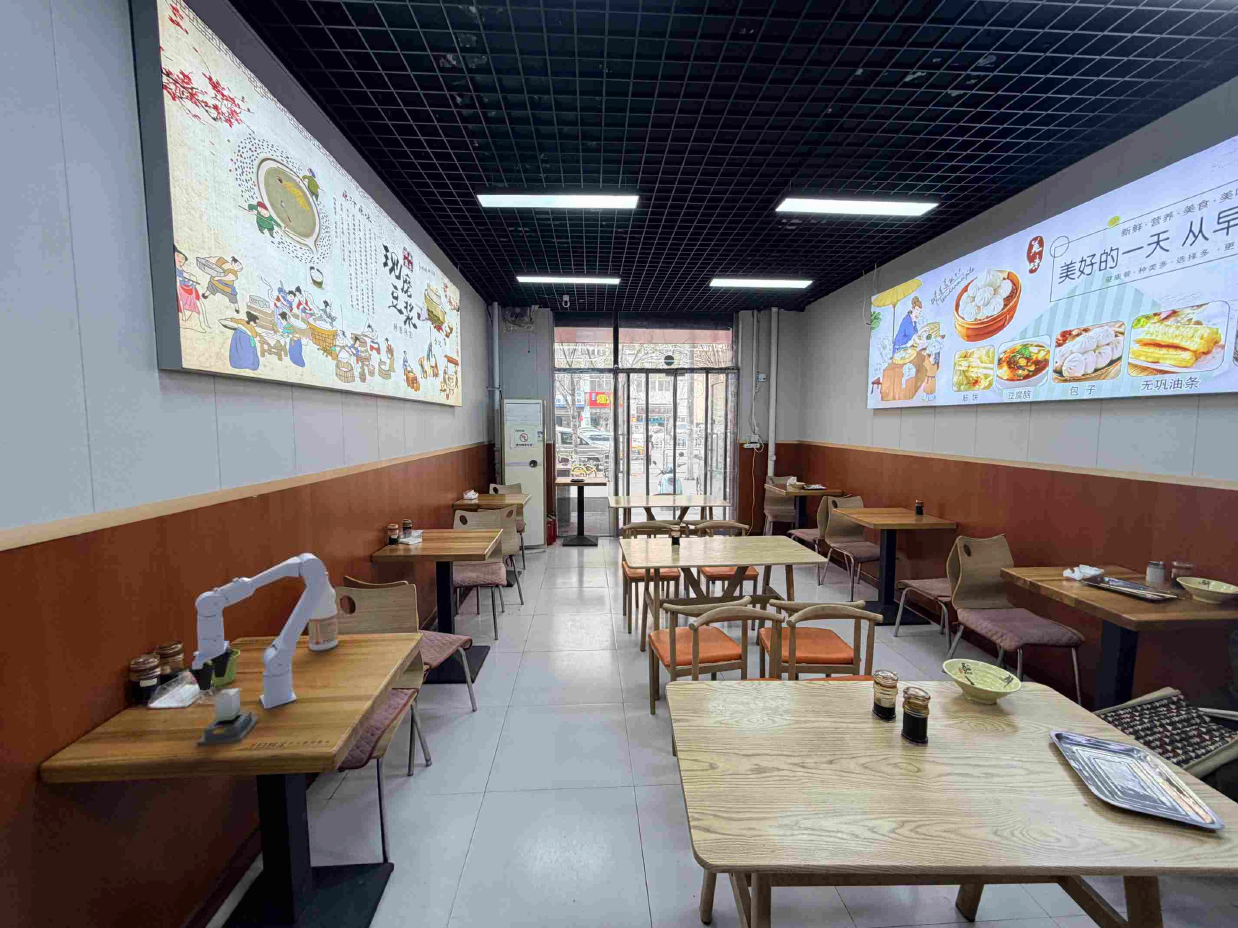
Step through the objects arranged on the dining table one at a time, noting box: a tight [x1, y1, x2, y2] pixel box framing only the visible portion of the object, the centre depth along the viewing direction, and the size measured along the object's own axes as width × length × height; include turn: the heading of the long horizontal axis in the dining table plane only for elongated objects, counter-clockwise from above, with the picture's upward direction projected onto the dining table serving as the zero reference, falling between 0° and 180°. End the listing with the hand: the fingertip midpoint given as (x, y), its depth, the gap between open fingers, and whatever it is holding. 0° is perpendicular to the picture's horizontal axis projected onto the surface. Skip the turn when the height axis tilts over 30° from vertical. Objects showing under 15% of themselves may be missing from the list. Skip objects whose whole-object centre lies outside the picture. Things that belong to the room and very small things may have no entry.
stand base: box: [196, 710, 260, 747], centre depth 138 cm, size 10×10×4 cm
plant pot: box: [207, 649, 241, 687], centre depth 166 cm, size 9×9×9 cm
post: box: [214, 687, 242, 721], centre depth 137 cm, size 4×4×6 cm
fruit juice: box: [307, 571, 339, 651], centre depth 193 cm, size 9×9×28 cm
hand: (212, 683), depth 144 cm, fingers open, 7 cm apart
